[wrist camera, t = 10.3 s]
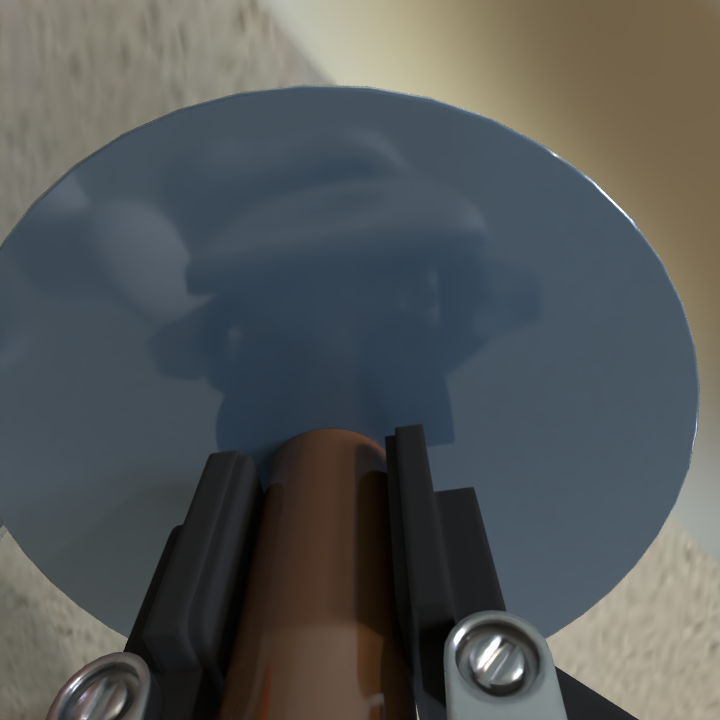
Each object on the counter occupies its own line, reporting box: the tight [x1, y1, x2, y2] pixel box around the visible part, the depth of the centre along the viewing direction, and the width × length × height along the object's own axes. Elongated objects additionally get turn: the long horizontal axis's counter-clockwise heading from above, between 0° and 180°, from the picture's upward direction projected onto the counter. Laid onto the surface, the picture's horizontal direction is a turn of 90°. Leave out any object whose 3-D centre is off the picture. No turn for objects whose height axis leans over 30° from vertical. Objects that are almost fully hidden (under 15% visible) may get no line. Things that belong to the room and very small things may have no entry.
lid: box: [0, 85, 700, 720], centre depth 10 cm, size 15×15×7 cm
